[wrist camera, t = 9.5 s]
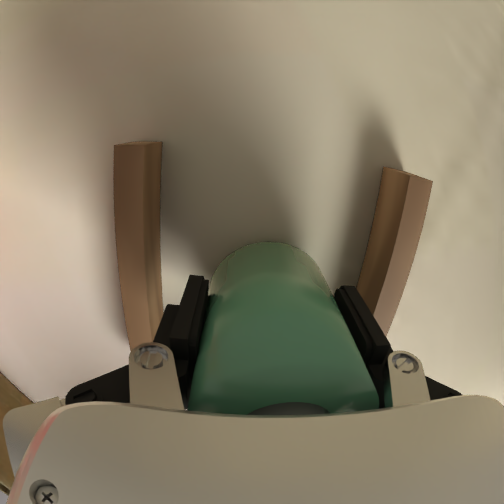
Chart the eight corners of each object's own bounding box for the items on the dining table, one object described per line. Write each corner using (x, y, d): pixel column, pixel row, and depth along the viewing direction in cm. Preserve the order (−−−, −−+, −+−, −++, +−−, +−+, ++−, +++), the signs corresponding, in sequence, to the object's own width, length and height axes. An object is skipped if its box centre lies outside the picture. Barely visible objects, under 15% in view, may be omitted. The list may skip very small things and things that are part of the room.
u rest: (404, 171, 13) (432, 181, 10) (346, 369, 17) (357, 397, 15) (136, 141, 12) (114, 145, 9) (148, 359, 17) (139, 389, 14)
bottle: (334, 247, 12) (426, 388, 5) (311, 342, 14) (349, 485, 7) (211, 236, 12) (170, 393, 5) (207, 337, 14) (188, 489, 7)
